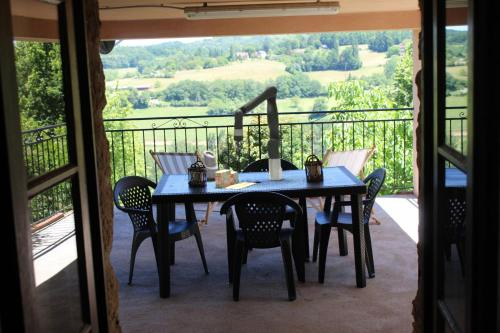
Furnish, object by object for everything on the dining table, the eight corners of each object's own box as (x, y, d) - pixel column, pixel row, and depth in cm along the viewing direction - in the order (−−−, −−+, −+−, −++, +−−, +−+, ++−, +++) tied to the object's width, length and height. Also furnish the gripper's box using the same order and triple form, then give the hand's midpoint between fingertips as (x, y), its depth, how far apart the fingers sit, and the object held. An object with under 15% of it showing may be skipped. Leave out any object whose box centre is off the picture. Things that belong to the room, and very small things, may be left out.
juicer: (225, 179, 565) (224, 150, 561) (212, 182, 553) (210, 152, 549) (200, 177, 584) (198, 148, 581) (186, 180, 573) (184, 150, 569)
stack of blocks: (232, 183, 547) (231, 167, 545) (238, 183, 543) (237, 168, 541) (215, 187, 530) (214, 171, 528) (221, 188, 526) (221, 172, 524)
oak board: (256, 183, 538) (256, 182, 538) (240, 189, 516) (240, 188, 516) (240, 182, 545) (240, 182, 545) (223, 188, 523) (223, 188, 522)
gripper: (244, 135, 538) (244, 156, 541) (241, 133, 552) (241, 153, 555) (235, 135, 537) (235, 156, 539) (232, 133, 551) (231, 154, 553)
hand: (238, 155), depth 547 cm, fingers open, 8 cm apart
